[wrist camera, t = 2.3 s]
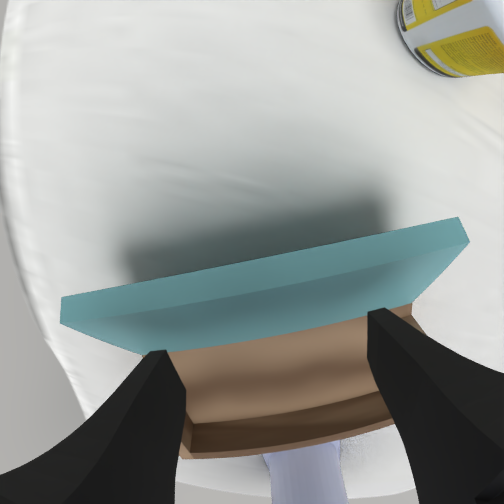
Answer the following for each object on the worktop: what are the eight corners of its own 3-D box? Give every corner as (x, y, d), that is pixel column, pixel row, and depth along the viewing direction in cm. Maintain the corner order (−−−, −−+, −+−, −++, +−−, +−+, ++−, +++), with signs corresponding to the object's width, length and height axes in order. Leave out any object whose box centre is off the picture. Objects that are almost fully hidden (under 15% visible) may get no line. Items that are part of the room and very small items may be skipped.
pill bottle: (478, 82, 14) (614, 88, 3) (404, 75, 14) (561, 53, 3) (458, 0, 11) (574, -36, 1) (380, -16, 12) (492, -99, 1)
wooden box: (392, 375, 23) (413, 417, 18) (189, 413, 24) (182, 459, 19) (399, 287, 20) (433, 328, 15) (148, 336, 21) (129, 386, 16)
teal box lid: (408, 305, 17) (470, 241, 10) (145, 356, 18) (59, 323, 11) (403, 288, 18) (458, 216, 10) (144, 338, 19) (61, 297, 12)
